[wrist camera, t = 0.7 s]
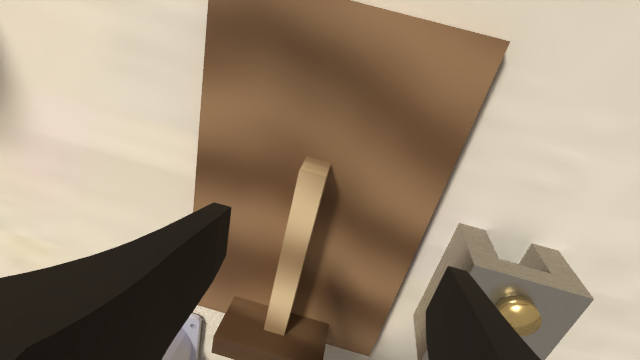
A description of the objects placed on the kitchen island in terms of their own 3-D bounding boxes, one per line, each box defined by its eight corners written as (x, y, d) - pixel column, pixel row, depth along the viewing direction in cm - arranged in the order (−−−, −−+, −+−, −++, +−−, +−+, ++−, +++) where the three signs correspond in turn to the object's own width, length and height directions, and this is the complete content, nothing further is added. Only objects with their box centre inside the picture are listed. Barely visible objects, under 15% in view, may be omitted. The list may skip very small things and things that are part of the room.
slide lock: (497, 338, 24) (521, 408, 20) (413, 314, 25) (419, 377, 20) (557, 249, 21) (603, 311, 17) (458, 222, 21) (478, 275, 17)
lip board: (369, 344, 27) (367, 404, 23) (193, 292, 27) (160, 341, 23) (503, 39, 17) (541, 49, 13) (219, -33, 17) (170, -47, 13)
